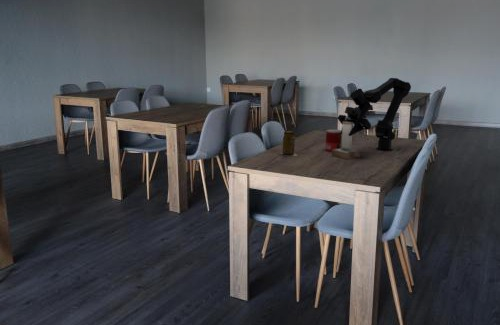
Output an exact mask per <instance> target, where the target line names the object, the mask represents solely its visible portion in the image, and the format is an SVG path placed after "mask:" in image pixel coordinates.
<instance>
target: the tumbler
mask: <svg viewBox="0 0 500 325" xmlns="http://www.w3.org/2000/svg"><path fill="white" fill-rule="evenodd" d="M342 126H343V127H341V130H342V134H341V148H349V149H352V142H353V135H351V136H349V133H350V131H351V130H352V128H353V126H354V124H353V122H352V121H343V125H342Z"/></svg>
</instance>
